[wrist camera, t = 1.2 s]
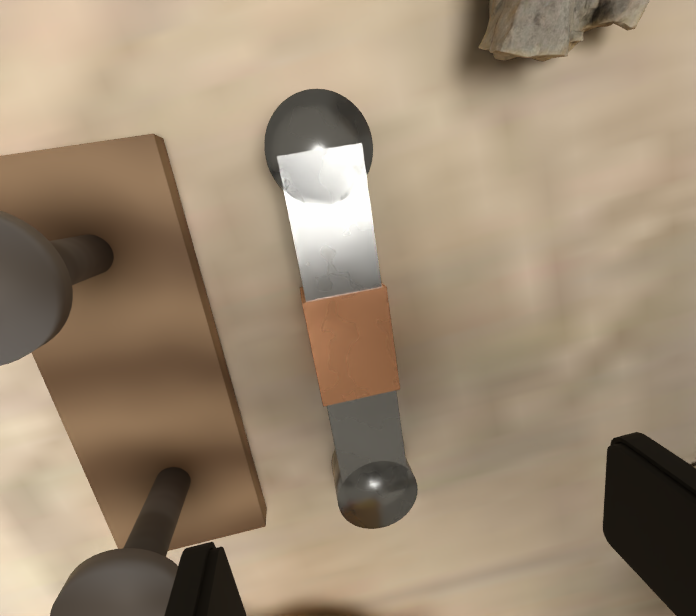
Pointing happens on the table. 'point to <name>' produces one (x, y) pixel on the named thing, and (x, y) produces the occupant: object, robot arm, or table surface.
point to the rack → (124, 360)
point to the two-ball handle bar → (344, 298)
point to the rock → (551, 25)
